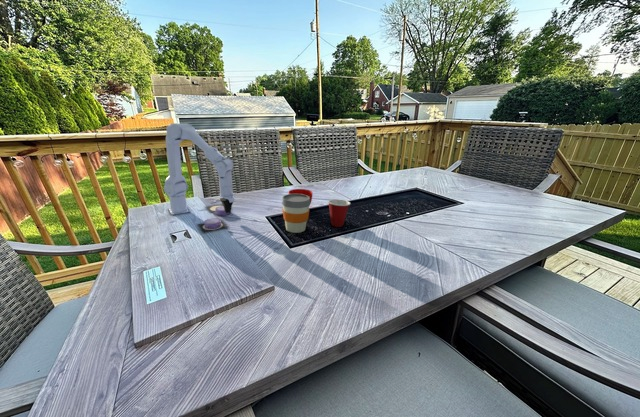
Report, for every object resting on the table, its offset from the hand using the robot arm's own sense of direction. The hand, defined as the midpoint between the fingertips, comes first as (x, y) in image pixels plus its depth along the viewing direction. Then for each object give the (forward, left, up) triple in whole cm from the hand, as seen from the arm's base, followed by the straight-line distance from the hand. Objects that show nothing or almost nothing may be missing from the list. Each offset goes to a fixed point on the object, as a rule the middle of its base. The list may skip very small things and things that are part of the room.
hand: (228, 212), depth 127 cm
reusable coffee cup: (+27, +22, -3) cm, 35 cm away
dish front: (+6, -9, -3) cm, 11 cm away
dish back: (-8, 0, -3) cm, 9 cm away
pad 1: (-17, 0, -3) cm, 17 cm away
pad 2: (+6, -9, -3) cm, 11 cm away
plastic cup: (+33, +42, -3) cm, 54 cm away
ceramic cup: (+7, +36, -3) cm, 37 cm away
